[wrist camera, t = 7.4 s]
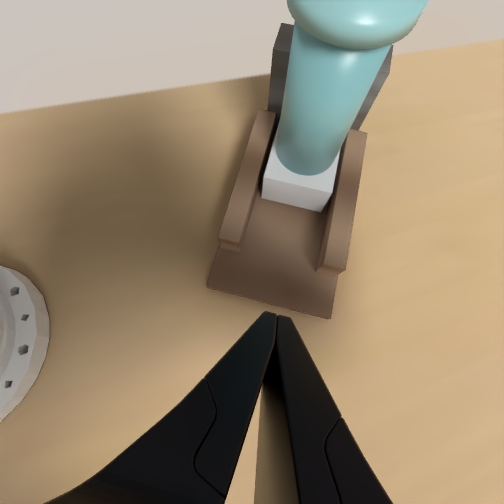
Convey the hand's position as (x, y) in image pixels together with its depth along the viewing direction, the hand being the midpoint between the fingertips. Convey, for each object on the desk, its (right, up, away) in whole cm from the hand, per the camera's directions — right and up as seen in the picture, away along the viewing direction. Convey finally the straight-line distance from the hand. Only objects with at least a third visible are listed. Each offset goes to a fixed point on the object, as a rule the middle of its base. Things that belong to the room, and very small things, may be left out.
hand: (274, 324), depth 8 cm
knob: (+2, +7, +11) cm, 13 cm away
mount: (+2, +6, +10) cm, 12 cm away
